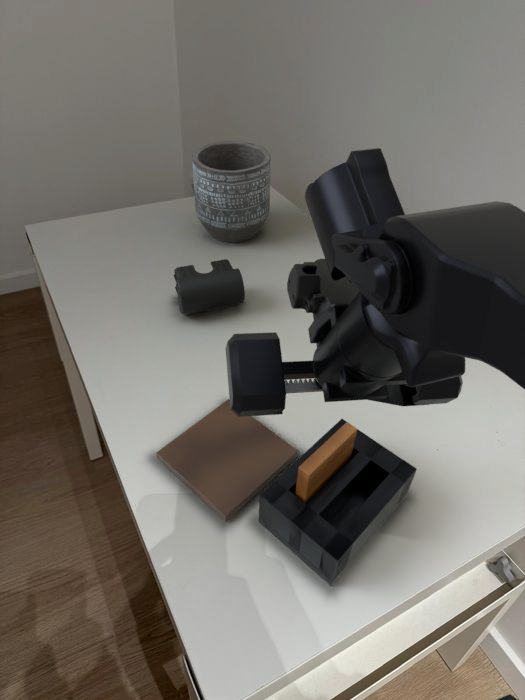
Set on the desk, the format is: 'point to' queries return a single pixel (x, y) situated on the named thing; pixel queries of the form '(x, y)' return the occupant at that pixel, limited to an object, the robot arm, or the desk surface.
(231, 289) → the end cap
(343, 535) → the toaster
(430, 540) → the desk surface
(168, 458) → the board
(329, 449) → the toast
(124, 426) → the desk surface
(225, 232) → the planter
